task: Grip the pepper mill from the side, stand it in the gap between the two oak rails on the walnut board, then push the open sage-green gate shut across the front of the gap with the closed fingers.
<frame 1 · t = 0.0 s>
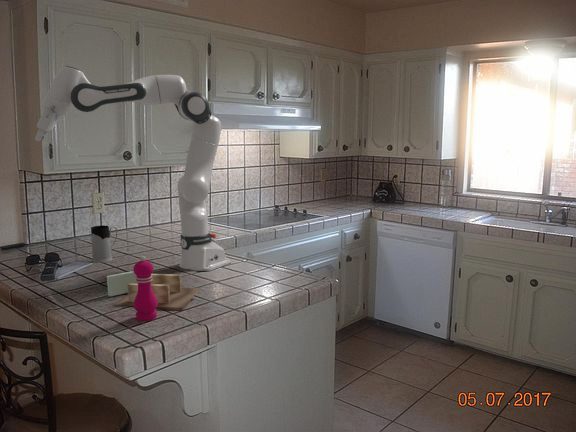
hand: (38, 140, 196), 54 cm above the countertop, tool tilted 30°, fingers open, 8 cm apart
grey black mug: (107, 259, 238), on the countertop
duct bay: (156, 298, 184), on the countertop
gate: (124, 283, 186), point 5 cm above the countertop, hinge at 45.0°
pepper mill: (146, 318, 166), on the countertop
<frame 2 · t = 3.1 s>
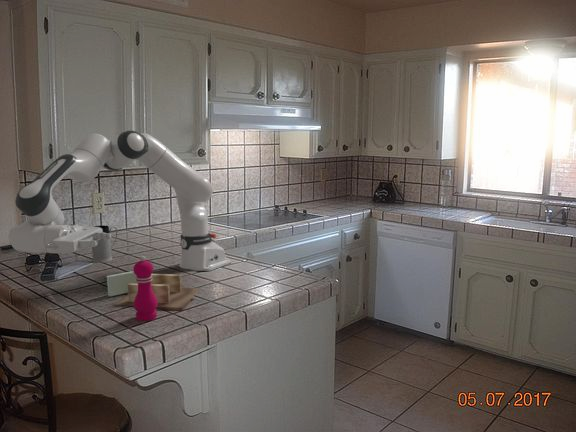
hand: (103, 239, 163), 25 cm above the countertop, tool horizontal, fingers open, 8 cm apart
nothing on the countertop moved.
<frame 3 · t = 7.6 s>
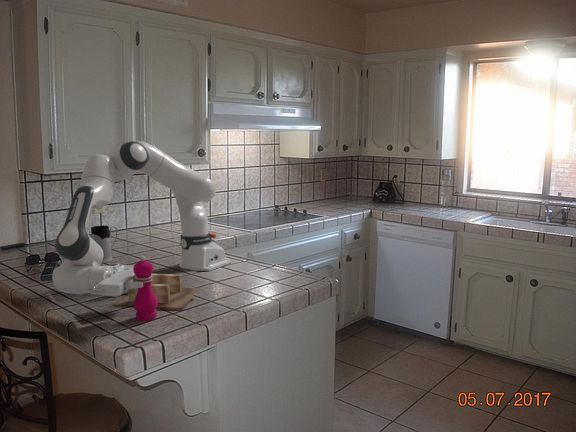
hand: (147, 281, 164), 12 cm above the countertop, tool horizontal, fingers closed on pepper mill, 5 cm apart
pepper mill: (146, 318, 166), on the countertop, touching gripper
everything else where it was.
when the fingers open (14 cm above the countertop, at t = 13.3 s): pepper mill moves 2 cm, resting on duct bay.
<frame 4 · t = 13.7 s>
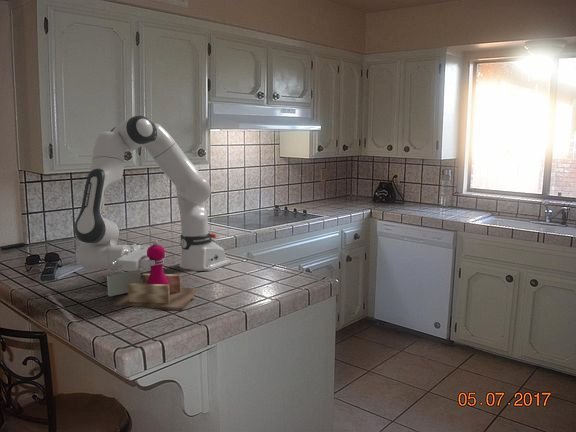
hand: (160, 258, 181), 14 cm above the countertop, tool horizontal, fingers open, 8 cm apart
pepper mill: (158, 297, 182), point 1 cm above the countertop, touching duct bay, gripper
everything else where it was.
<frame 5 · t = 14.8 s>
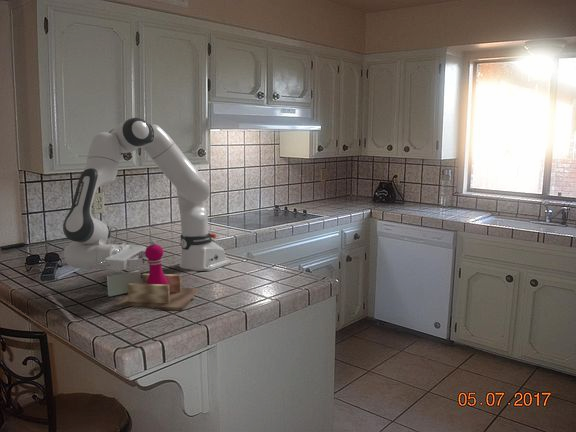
hand: (148, 258, 181), 15 cm above the countertop, tool horizontal, fingers open, 8 cm apart
pepper mill: (158, 297, 182), point 1 cm above the countertop, touching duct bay
everything else where it was.
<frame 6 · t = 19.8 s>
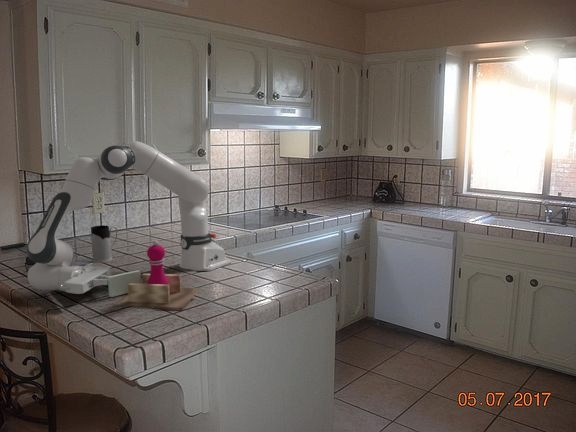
hand: (110, 280, 184), 6 cm above the countertop, tool horizontal, fingers closed
gate: (125, 283, 186), point 5 cm above the countertop, hinge at 39.9°, touching gripper
everything else where it was.
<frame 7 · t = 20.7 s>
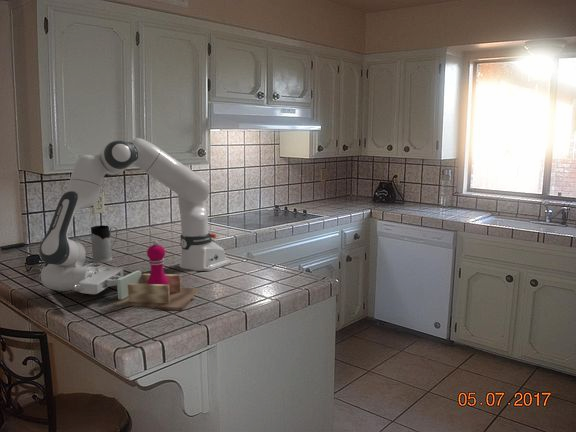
hand: (123, 281, 183), 6 cm above the countertop, tool horizontal, fingers closed
gate: (130, 284, 184), point 5 cm above the countertop, hinge at 13.0°, touching gripper
everything else where it was.
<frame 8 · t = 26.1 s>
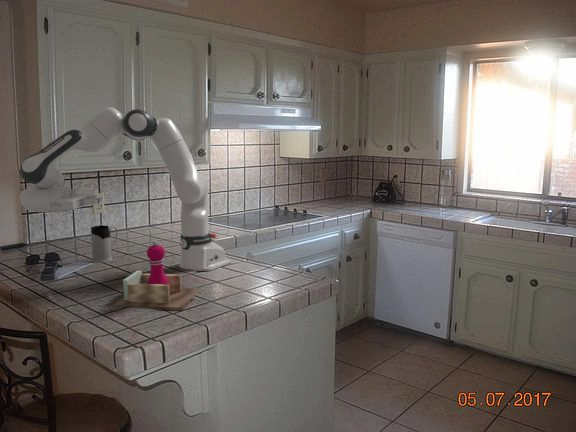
hand: (98, 201, 195), 32 cm above the countertop, tool horizontal, fingers closed
gate: (133, 284, 184), point 5 cm above the countertop, hinge at 0.5°
everything else where it was.
at the end: gate at +0° (first picture: +45°); pepper mill inside the target area on the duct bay (1.4 cm from its centre), point 0.8 cm above the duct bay's base; pepper mill tilted 0° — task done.
